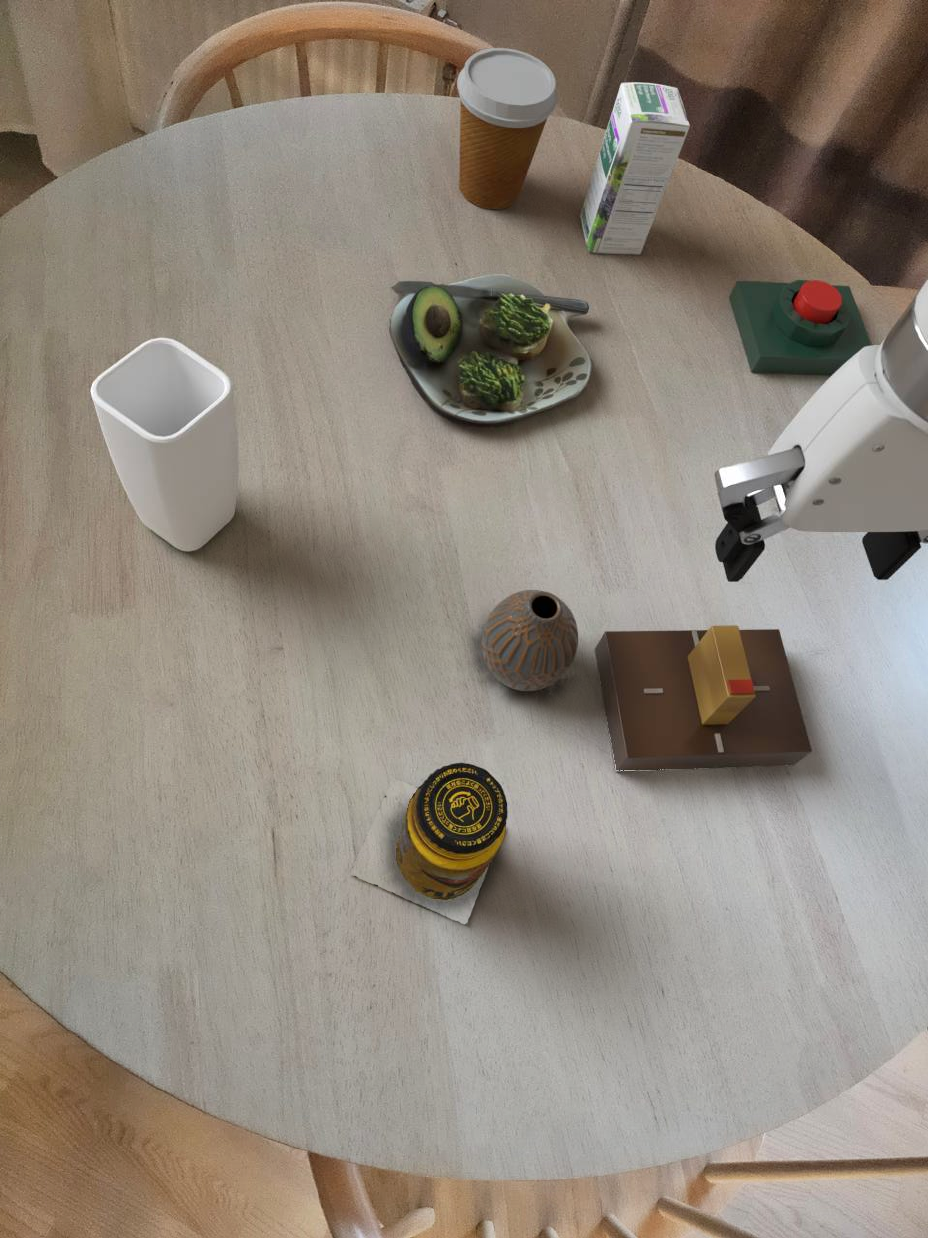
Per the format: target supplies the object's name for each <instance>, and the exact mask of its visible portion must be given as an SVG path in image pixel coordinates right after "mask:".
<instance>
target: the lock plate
mask: <svg viewBox="0 0 928 1238" xmlns="http://www.w3.org/2000/svg"><path fill="white" fill-rule="evenodd" d="M708 630H709V629H691V630H690V629H689V630H688V629H687V630H683V629H681V630H627V631H626V630H620V631H619V630H618V631H617V630H614V631H613V630H612V631H611V630H610V631H609V630H608V631H604V632H603V634H602V636H601V638H600V640H598V642H597V645H596V646H595V648H594V653H595V659H596V666H597V672H598V677H599V678H598V679H599V683H601V684H600V689H602V690H601V695H602V701H604V702H603V707H604V712H606V713H605V718H606V717H607V719H606V723H607V722H608V725H607V729H608V728H609V731H608V735H609V734H610V737H611V743H612V749H613V754H614V760H615V764H616V770H619V771H620V770H623V771H624V770H656V771H666V770H665V769H683V770H704V769H703V768H709V769H727V768H726V767H736V768H758V767H759V766H762V767H785V765H788V766H795V765H797V764H798V763H799V762H801V761H802V760H803V759H804V758H806V757H807V756H808V755H809V754H811V753H812V752H813V749H812V745H811V741H810V738H809V735H808V731H807V727H806V723H805V719H804V716H803V713H802V708H801V705H800V701H799V697H798V694H797V690H796V686H795V683H794V678H793V675H792V672H791V671H792V670H791V669H790V665H789V661H788V657H787V653H786V649H785V646H784V642H783V638H782V635H781V631H780V629H779V628H774V629H773V628H769V629H767V628H766V629H764V628H763V629H761V628H760V629H739V632H740V636H741V640H742V644H743V648H744V652H745V656H746V660H747V664H748V668H749V672H750V676H751V680H752V684H753V688H754V692H755V698H754V699H753V700H752V701H751V702H750V703H749V704H748V705H747V706H746V707H745V708H744V709H743V710H742V711H741V712H740V713H739V714H738V715H737V716H736V717H735V718H734V719H732V720H731V721H730V722H729V723H728V724H715V725H702V721H701V717H700V712H699V707H698V703H697V698H696V694H695V689H694V685H693V680H692V675H691V671H690V666H689V662H688V655H689V654H690V653H691V652H692V650H693V649H694V648H695V646H696V645H697V644H698V643H699V641H700V640H701V639H702V638H703V636H704V635H705V634H706V632H707V631H708ZM610 737H609V738H610ZM611 743H610V744H611ZM612 749H611V750H612ZM782 765H783V766H782ZM755 766H756V767H755ZM757 766H758V767H757ZM695 768H696V769H695ZM698 768H699V769H698ZM700 768H702V769H700ZM660 769H661V770H660ZM662 769H664V770H662Z"/></svg>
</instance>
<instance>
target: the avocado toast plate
mask: <svg viewBox="0 0 928 1238" xmlns="http://www.w3.org/2000/svg"><path fill="white" fill-rule="evenodd" d="M389 288H390V289H391V290H392V291H393V292H394V293H395V294H396V295H397V297H398V300H397V304H396V306H395V307H394V309H393V311H392V313H391V315H390V318H389V326H388V328H389V330H388V331H389V335H390V338H391V342H392V345H393V346H394V349H395V351H396V355H397V356H398V360H399V362H400V364H401V366H402V367H403V369H404V371H405V372H406V374H407V376H408V378H409V380H410V381H411V384H412V386H413V388H414V389H415V390H416V392H417V393H418V395H419V396H420V397H421V399H422V400H423V401H424V402H425V403H426V404H427V405H428V407H430V409H432V411H434V412H435V413H436V414H437V415H439V416H441V417H442V418H445V419H446V420H448V421H450V422H453V423H456V424H459V425H465V426H468V427H476V428H490V427H505V426H509V425H513V424H515V423H517V422H519V421H520V420H521V419H524V418H526V417H529V416H532V415H535V414H538V413H541V412H545V411H548V410H551V409H553V408H555V407H556V406H559V405H560V404H562V403H565V402H567V401H568V400H571V399H574V398H576V397H578V396H579V395H580V394H581V393H582V392H583V390H584V389H585V388H586V387H587V386H588V385H589V381H590V378H591V375H592V371H593V362H592V361H591V358H590V356H589V353H588V352H587V350H586V349H585V347H584V346H583V345H582V343H581V342H580V340H579V339H578V338H577V336H575V334H574V333H573V331H572V330H571V328H570V326H569V323H568V322H569V321H570V319H573V318H575V317H580V316H581V317H582V316H585V315H587V314H588V313H589V310H590V304H589V303H588V302H587V301H586V300H581V299H575V298H569V297H568V298H567V297H558V296H549V295H548V296H547V295H545V293H544V292H543V291H541V290H540V289H539V288H537V287H536V286H535V285H534V284H531V283H529V282H527V281H526V280H523V279H520V278H517V277H514V276H511V275H508V274H504V273H503V274H502V273H493V274H488V275H480V276H476V277H472V278H468V279H465V280H461V281H456V282H453V283H450V284H443V283H440V284H436V283H434V282H432V281H422V280H402V281H397V282H396V284H394V285H393V286H390V287H389Z"/></svg>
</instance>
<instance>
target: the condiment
mask: <svg viewBox="0 0 928 1238" xmlns="http://www.w3.org/2000/svg"><path fill="white" fill-rule="evenodd" d="M417 788H418V789H417V790H416V792H415V793H414V794H413V796H412V798H411V799H410V801H409V804H408V808H407V812H406V814H405V818H404V823H403V825H402V828H401V832H400V836H399V840H398V843H397V848H396V861H397V865H398V867H399V869H400V871H401V873H402V875H403V877H404V879H405V880H406V881H407V882H408V883H409V884H410V885H411V886H412V887H413V888H414V889H415V891H417V892H420V893H421V894H423V895H425V896H427V897H430V898H433V899H441V900H448V899H454V898H456V897H458V896H461V895H463V894H464V893H466V892H467V891H469V890H470V889H471V888H472V887H473V886H474V885H475V884H476V883H477V881H478V880H479V878H480V877H481V876H482V874H483V873H484V872H485V870H486V868H487V867H488V865H489V864H490V862H491V863H492V861H493V859H492V858H494V857H496V855H497V853H498V851H499V849H500V847H501V845H502V843H503V842H504V839H505V836H506V830H507V820H508V812H509V811H508V801H507V796H506V794H505V791H504V789H503V785H501V784H500V782H499V781H498V780H497V779H496V778H495V777H494V776H493V775H492V774H491V773H490V772H489V771H488V770H487V769H485V768H483V767H480V766H478V765H476V764H475V765H474V764H472V763H468V762H467V763H466V762H454V763H451V764H448V765H443V766H442V767H440V768H437V769H435V770H433V772H432V773H430V774H429V775H428V776H427V778H426V779H425V780H423V783H422V784H420V785H419V786H418V787H417ZM490 865H491V864H490Z"/></svg>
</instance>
